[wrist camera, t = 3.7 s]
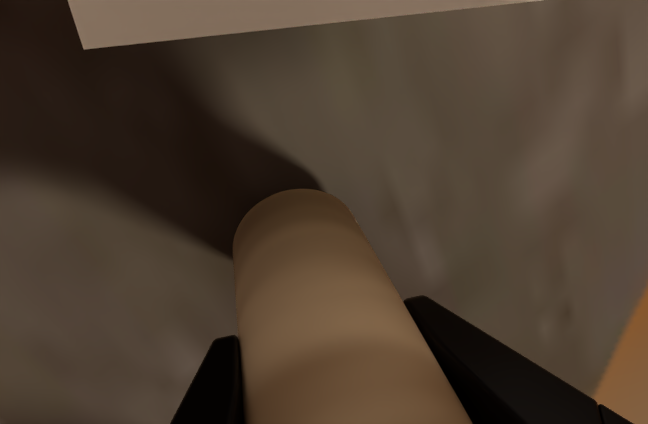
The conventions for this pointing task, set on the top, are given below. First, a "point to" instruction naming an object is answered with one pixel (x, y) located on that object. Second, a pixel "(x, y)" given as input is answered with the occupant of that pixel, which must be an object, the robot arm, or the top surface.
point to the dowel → (327, 323)
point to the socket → (232, 16)
